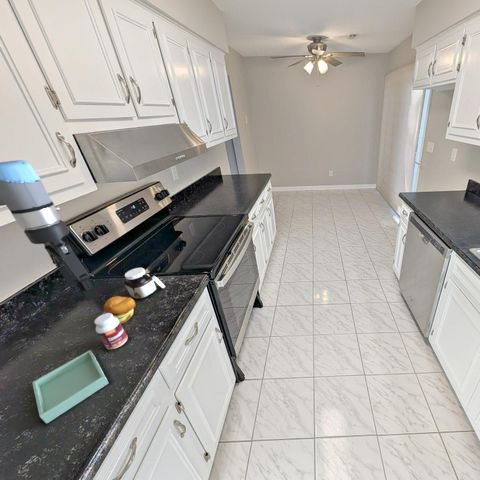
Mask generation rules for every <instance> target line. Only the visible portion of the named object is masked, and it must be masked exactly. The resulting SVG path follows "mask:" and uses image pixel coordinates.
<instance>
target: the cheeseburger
mask: <svg viewBox="0 0 480 480" xmlns="http://www.w3.org/2000/svg"><path fill="white" fill-rule="evenodd" d="M136 305H137V304H136V301H135V300H134V298H133V297H131V296H120V295H115V296H112V297H109V298H108V299H107V300H106V301H105V302H104V304H103V310H104V311H102V314H101V315H103V314H106V313H111V314H112V315H113V316H114V318H117V319H118V320H119V322H120V323H121V325H123V324H125V323H126V322H127V321H130V319H131V318H132V317H133V316H134V313H135V309H134V308H136Z"/></svg>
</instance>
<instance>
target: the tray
mask: <svg viewBox="0 0 480 480" xmlns="http://www.w3.org/2000/svg"><path fill="white" fill-rule="evenodd" d="M108 384H110V383H109V381H108V378H107V376H106V374H105V373H104V371H103V369H102V367H101V365H100V363H99V361H98V360H97V358H96V356H95V354H94V353H93V351H92V350H91V349H90V350H87V351H85V352H84V353H81V354H80V355H79V356H76V357H74V358H72V359H71V360H69V361H67V362H66V363H64V364H62V365H60V366H59V367H56V368H55V369H53V370H51V371H50V372H48V373H45V374H44V375H42V376H40V377H39V378H37V379H35V380H33V381H32V387H33V392H34V397H35V403H36V406H37V411H38V416H39V418H40V419H41V420H42V421H43V422H44V423H45V424H47V425H48V424H49V423H50V422H52V421H53V420H55V419H56V418H58V417H60V415H62V414H64V413H66V412H67V411H68V410H70V409H72V408H73V407H75V406H76V405H78V404H79V403H81V402H83V401H84V400H86V399H87V398H89V397H90V396H92V395H93V394H95V393H96V392H98V391H99V390H101V389H102V388H104V387H105V386H107V385H108Z"/></svg>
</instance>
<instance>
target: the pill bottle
mask: <svg viewBox="0 0 480 480" xmlns="http://www.w3.org/2000/svg"><path fill="white" fill-rule="evenodd" d="M102 314H103V313H102ZM102 314H101V315H99V316H97V317H96V318H95V319H94V325H95V332H96V334H97V335H98V337H99V339H100V340H101V342H102V344H103V345H104V347H105V348H106V349H107V350H115V349H118V348H119V347H122V346H123V345H124V344H126V342H127V341H128V334H127V332H126V331H125V328H124V327H123V324H121V323H120V322H119V320H118V319H117V318H114V316H113V315H112V314H111V313H106V314H103V315H102Z"/></svg>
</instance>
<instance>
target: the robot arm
mask: <svg viewBox="0 0 480 480" xmlns="http://www.w3.org/2000/svg"><path fill="white" fill-rule="evenodd" d="M3 206H6V207H7V209H8V211H10V213H11V215H12V217H13V218H14V220H15V221H16V223H17V225H18V226H19V227H20V228H21V229H23V233H24V235H25V236H26V238H27V239H28V240H29V242H30V243H31V244H34V245H43V246H44V249H45V250H46V252H47V254H48V255H49V258H50V259H51V262H52V264H53V265H55V267H56V268H57V269H58V271H59V272H60V274H61V276H62V277H63V279H64V281H65V282H66V283H67V285H68V286H69V288H72V287H74V286H77V287H78V288H79V290H80V292H81V293H82V295H83V297H84V298H85V299H86V301H87V302H90V301H92V300H94V299H96V298H98V297H100V293H99V292H98V290H97V289H96V286H95V285H94V283H93V282H92V280H91V274H90V273H89V272H88V271H87V269H86V268H85V266H84V265H83V263H82V262H81V261H80V259H79V258H78V256H77V255H76V253H75V252H74V251H73V249H72V247H71V245H70V244H69V243H68V242H66V241H65V240H63V238H65V237H68V235H70V230H69V229H70V228H68V226H67V224H66V222H65V221H64V220H62V216H61V214H60V212H58V211H60V210H61V208H60V207H59V206H55V203H54V201H53V200H52V199H51V197H50V195H49V194H48V191H47V190H46V188H45V185H44V183H43V182H42V178H41V177H40V176H39V175H38V173H37V172H36V170H35V169H34V167H33V166H32V164H31V163H30V162H28V161H27V160H22V159H19V160H18V159H17V160H8V161H1V162H0V207H3Z"/></svg>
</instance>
